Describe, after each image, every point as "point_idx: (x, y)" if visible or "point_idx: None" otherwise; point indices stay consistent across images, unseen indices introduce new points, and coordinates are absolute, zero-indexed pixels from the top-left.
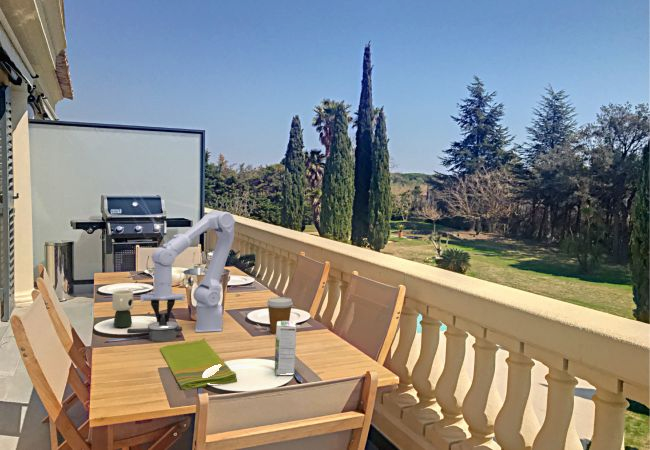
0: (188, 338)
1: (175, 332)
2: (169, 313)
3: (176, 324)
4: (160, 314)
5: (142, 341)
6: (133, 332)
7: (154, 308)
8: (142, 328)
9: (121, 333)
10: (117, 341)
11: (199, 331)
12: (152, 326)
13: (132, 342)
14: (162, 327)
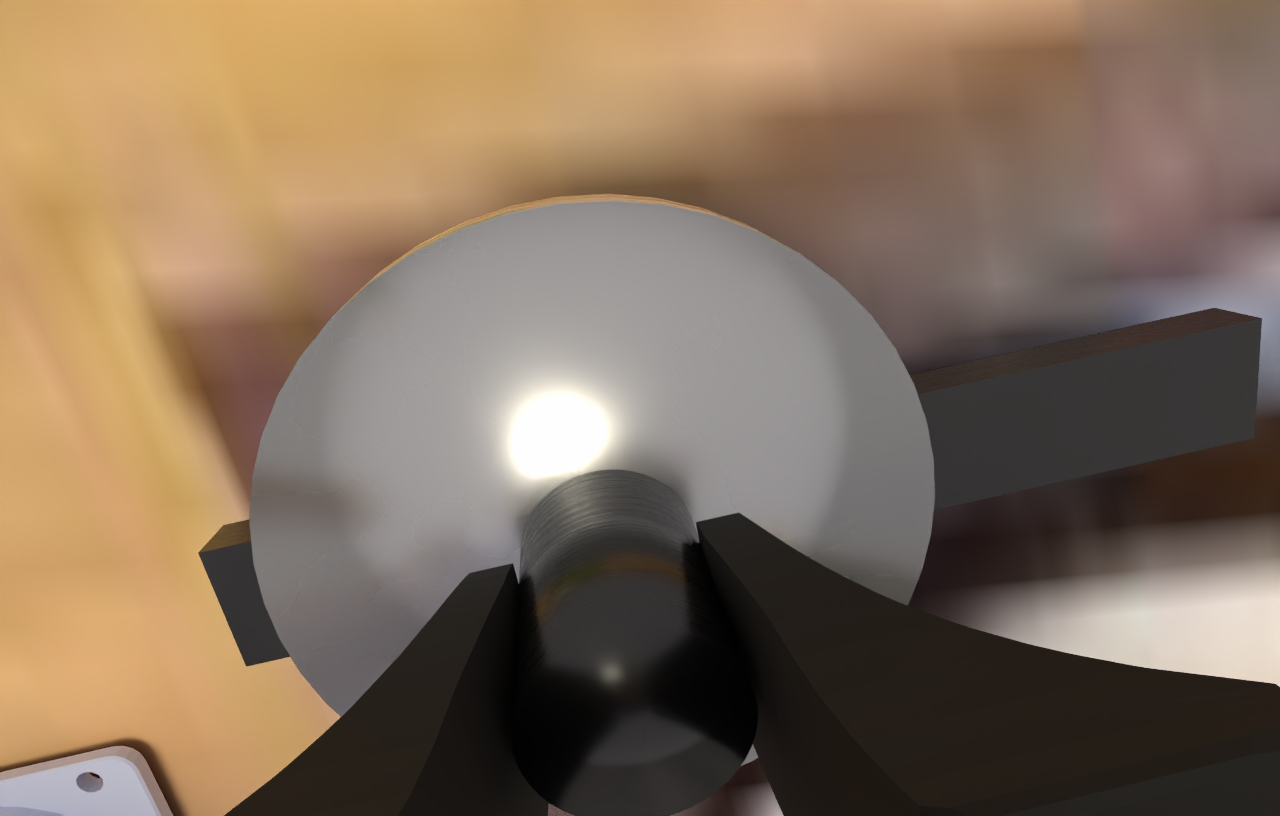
0: (134, 435)
1: None
2: (376, 693)
3: (275, 553)
4: (696, 651)
5: (878, 219)
6: (1119, 331)
7: (1002, 668)
8: (998, 480)
9: (1237, 592)
10: (1264, 201)
11: (65, 762)
12: (798, 306)
13: (1029, 154)
14: (517, 207)
